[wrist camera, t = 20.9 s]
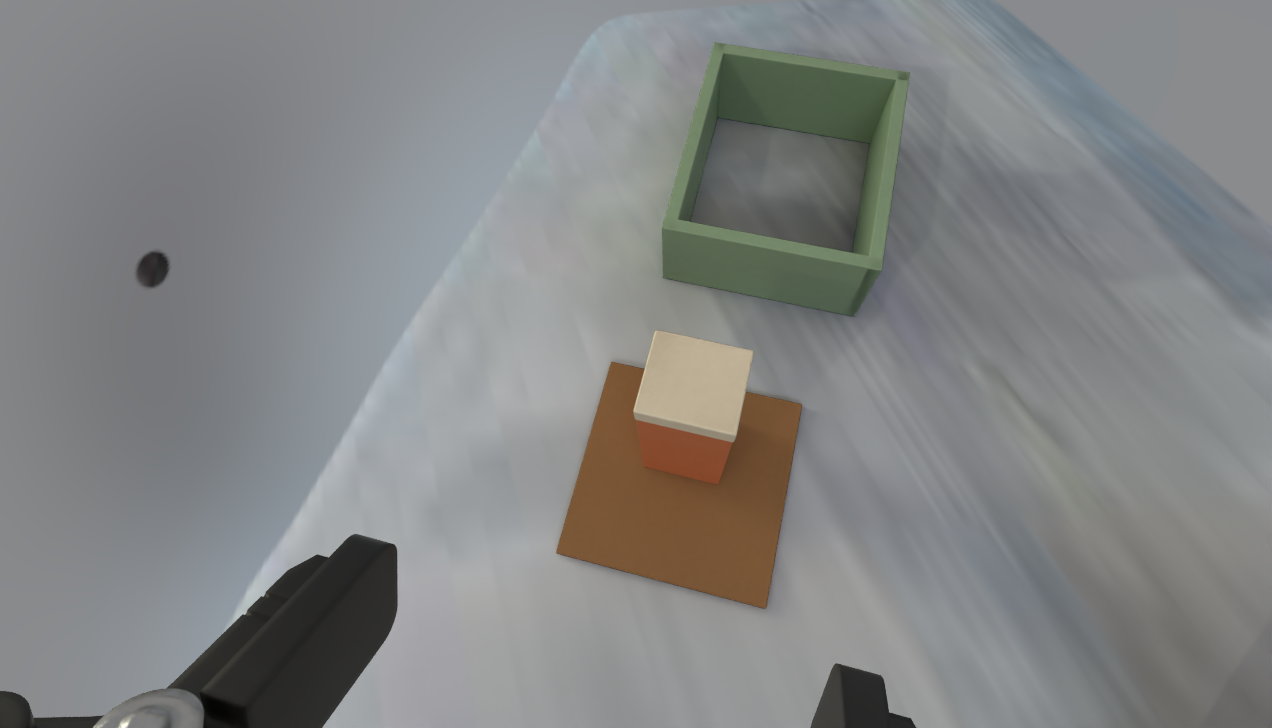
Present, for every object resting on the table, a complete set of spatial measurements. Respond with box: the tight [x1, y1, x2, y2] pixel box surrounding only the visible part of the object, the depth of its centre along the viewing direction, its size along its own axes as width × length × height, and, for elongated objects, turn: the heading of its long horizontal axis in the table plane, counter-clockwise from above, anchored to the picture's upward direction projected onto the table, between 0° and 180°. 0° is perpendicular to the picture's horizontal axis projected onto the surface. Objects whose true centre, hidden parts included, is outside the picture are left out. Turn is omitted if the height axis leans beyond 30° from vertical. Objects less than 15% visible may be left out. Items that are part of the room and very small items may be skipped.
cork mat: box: [556, 362, 802, 609], centre depth 40 cm, size 12×12×1 cm
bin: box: [662, 42, 910, 316], centre depth 44 cm, size 13×15×6 cm
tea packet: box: [633, 330, 754, 485], centre depth 35 cm, size 5×4×11 cm
